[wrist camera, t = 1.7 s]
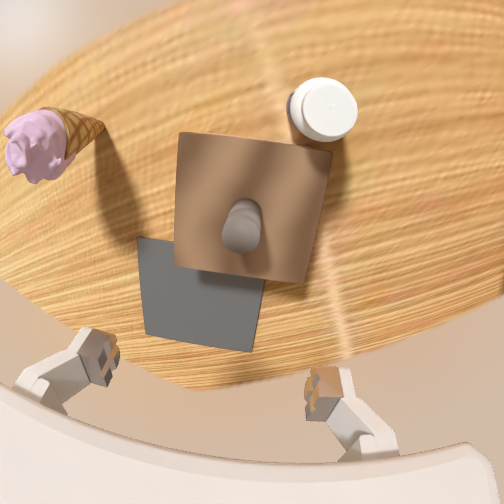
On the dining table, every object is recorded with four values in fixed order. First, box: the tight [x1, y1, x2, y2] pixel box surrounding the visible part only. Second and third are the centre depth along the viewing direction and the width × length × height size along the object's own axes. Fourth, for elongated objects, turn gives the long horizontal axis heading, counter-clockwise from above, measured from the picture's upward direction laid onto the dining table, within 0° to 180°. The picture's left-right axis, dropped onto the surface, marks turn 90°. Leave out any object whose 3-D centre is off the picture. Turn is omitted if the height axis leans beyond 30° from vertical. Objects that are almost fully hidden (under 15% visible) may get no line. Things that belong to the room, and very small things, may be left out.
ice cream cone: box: [4, 107, 105, 184], centre depth 22 cm, size 7×6×15 cm
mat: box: [137, 237, 265, 352], centre depth 38 cm, size 16×16×1 cm
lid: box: [174, 132, 333, 284], centre depth 25 cm, size 13×13×6 cm
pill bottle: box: [286, 78, 358, 142], centre depth 23 cm, size 5×5×10 cm
